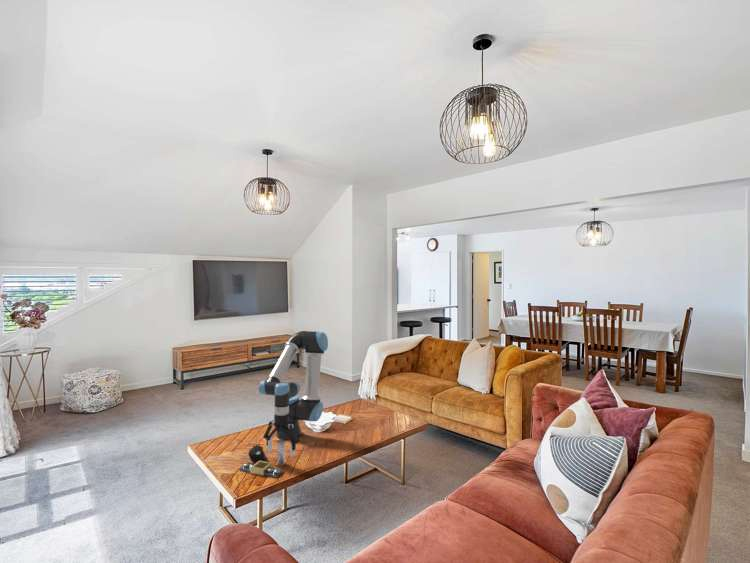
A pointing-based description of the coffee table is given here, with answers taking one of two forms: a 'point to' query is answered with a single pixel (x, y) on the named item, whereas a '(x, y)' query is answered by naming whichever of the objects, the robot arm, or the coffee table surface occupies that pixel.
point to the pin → (281, 452)
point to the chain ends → (261, 469)
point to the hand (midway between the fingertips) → (280, 454)
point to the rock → (256, 453)
